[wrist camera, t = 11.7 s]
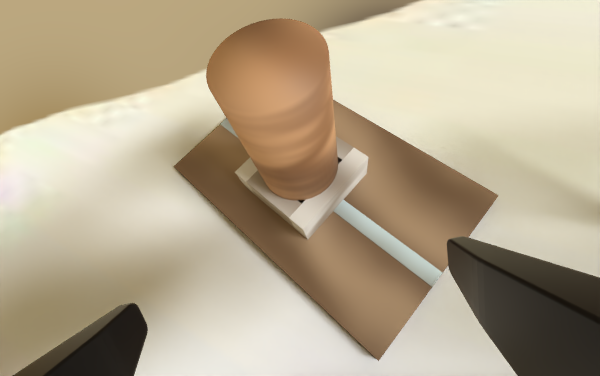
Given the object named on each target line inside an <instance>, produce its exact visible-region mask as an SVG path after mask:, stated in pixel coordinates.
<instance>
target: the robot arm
mask: <svg viewBox="0 0 600 376" xmlns="http://www.w3.org/2000/svg"><path fill="white" fill-rule="evenodd" d="M447 255H448V266H449V270H450V272H451V274H452V276H453V278H454V280H455V281H456V283H457V285H458V287H459V288H460V290H461V292H462V294H463V295H464V297H465V299H466V301H467V302H468V304H469V306H470V307H471V309H472V311H473V313H474V314H475V316H476V318H477V319H478V321H479V323H480V324H481V326H482V327H483V328H484V330H485V331H486V333H487V334H488V336H489V337H490V338H491V340H492V341H493V342H494V344H495V345H496V347H497V348H498V349H499V351H500V352H501V353H502V355H503V356H504V358H505V359H506V360H507V362H508V363H509V364H510V366H511V367H512V369H513V370H514V371H515V373H516V374H517V375H518V376H600V278H599V277H596V276H593V275H589V274H586V273H583V272H579V271H576V270H573V269H570V268H566V267H563V266H560V265H556V264H553V263H550V262H547V261H543V260H540V259H537V258H533V257H530V256H527V255H524V254H520V253H517V252H514V251H510V250H507V249H504V248H501V247H497V246H494V245H491V244H487V243H484V242H481V241H478V240H474V239H471V238H468V237H464V236H460V237H455V238H450V239H448V241H447ZM147 331H148V328H147V324H146V321H145V319H144V317H143V315H142V313H141V311H140V309H139V307H138V306H137V305H136V304H135V303H130V304H125V305H121V306H118V307H117V308H115V309H114V310H112V311H111V312H109V313H108V314H106V315H105V316H103V317H101V318H100V319H98V320H97V321H95V322H94V323H92V324H91V325H89V326H88V327H86V328H85V329H83V330H82V331H80V332H79V333H77V334H76V335H74V336H72V337H71V338H69V339H68V340H66V341H65V342H63V343H62V344H60V345H59V346H57V347H56V348H54V349H53V350H51V351H50V352H48V353H47V354H45V355H44V356H42V357H40V358H39V359H37V360H36V361H34V362H33V363H31V364H30V365H28V366H27V367H25V368H24V369H22V370H21V371H19V372H18V373H16V374H15V375H13V376H134V374H135V371H136V367H137V364H138V361H139V358H140V355H141V351H142V348H143V345H144V342H145V339H146V336H147Z"/></svg>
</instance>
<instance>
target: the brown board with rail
mask: <svg viewBox="0 0 600 376" xmlns="http://www.w3.org/2000/svg"><path fill="white" fill-rule="evenodd" d="M333 108H334V120H335V131H336V143H337V155H338V170H337V174H336V176H335V179H334V180H333V182H332V183H331V185H330V186H329V187H328V188H327V189H326V190H325V191H323V192H322V193H321V194H319V195H317V196H315V197H313V198H310V199H306V200H297V201H295V200H288V199H284V198H281V197H279V196H278V195H276V194H275V193H273V192H272V191H271V190H270V189H269V188H268V186H267V185H266V183H265V181H264V180H263V178H262V176H261V175H260V173H259V171H258V170H257V168H256V166H255V165H254V163H253V161H252V160H251V158H250V156H249V155H248V153H247V151H246V150H245V148H244V146H243V145H242V143H241V141H240V140H239V138H238V136H237V135H236V133H235V131H234V129H233V128H232V126H231V124H230V123H229V121H228V119H227V118H226V119H225V120H224V121H223V122H222V123H221V124H220V125H219V126H218V127H217V128H216V129H214V130H213V131H212V132H211V133H210V134H209V135H208V136H207V137H206V138H205V139H203V140H202V141H201V142H200V143H199V144H198V145H197V146H196V147H195V148H194V149H192V150H191V151H190V152H189V153H188V154H187V155H186V156H185V157H184V158H182V159H181V160H180V161H179V162H178V163H177V164H176V165H175V166H174V167H175V168H176V169H177V170H178V171H179V172H180V173H181V174H182V175H183V176H184V177H185V178H186V179H187V180H188V181H189V182H190V183H192V184H193V185H194V186H195V187H196V188H197V189H198V190H199V191H200V192H201V193H202V194H203V195H204V196H205V197H206V198H207V199H208V200H209V201H211V202H212V203H213V204H214V205H215V206H216V207H217V208H218V209H219V210H220V211H221V212H222V213H223V214H224V215H225V216H226V217H227V218H228V219H229V220H231V221H232V222H233V223H234V224H235V225H236V226H237V227H238V228H239V229H240V230H241V231H242V232H243V233H244V234H245V235H246V236H247V237H248V238H250V239H251V240H252V241H253V242H254V243H255V244H256V245H257V246H258V247H259V248H260V249H261V250H262V251H263V252H264V253H265V254H266V255H267V256H269V257H270V258H271V259H272V260H273V261H274V262H275V263H276V264H277V265H278V266H279V267H280V268H281V269H282V270H283V271H284V272H285V273H286V274H288V275H289V276H290V277H291V278H292V279H293V280H294V281H295V282H296V283H297V284H298V285H299V286H300V287H301V288H302V289H303V290H304V291H305V292H307V293H308V294H309V295H310V296H311V297H312V298H313V299H314V300H315V301H316V302H317V303H318V304H319V305H320V306H321V307H322V308H323V309H324V310H325V311H327V312H328V313H329V314H330V315H331V316H332V317H333V318H334V319H335V320H336V321H337V322H338V323H339V324H340V325H341V326H342V327H343V328H344V329H346V330H347V331H348V332H349V333H350V334H351V335H352V336H353V337H354V338H355V339H356V340H357V341H358V342H359V343H360V344H361V345H362V346H363V347H365V348H366V349H367V350H368V351H369V352H370V353H371V354H372V355H373V356H374V357H375V358H376V359H377V360H378V361H379V360H380V358H381V357H382V355H383V354H384V353H385V351H386V350H387V348H388V347H389V346H390V344H391V343H392V342H393V340H394V339H395V337H396V336H397V335H398V333H399V332H400V331H401V329H402V328H403V326H404V325H405V324H406V322H407V321H408V320H409V318H410V317H411V315H412V314H413V313H414V311H415V310H416V309H417V307H418V306H419V304H420V303H421V302H422V300H423V299H424V298H425V296H426V295H427V293H428V292H429V291H430V289H431V288H432V287H433V285H434V284H435V282H436V281H437V280H438V278H439V277H440V276H441V274H442V273H443V271H444V270H445V269H446V267H447V266H448V255H447V241H448V239H450V238H455V237H460V236H464V237H469V236H470V234H471V233H472V231H473V230H474V229H475V227H476V226H477V225H478V223H479V222H480V220H481V219H482V218H483V216H484V215H485V214H486V212H487V211H488V209H489V208H490V207H491V205H492V204H493V202H494V201H495V200H496V198H497V197H498V196H499V195H497V194H495V193H493V192H492V191H490V190H488V189H486V188H485V187H483V186H481V185H480V184H478V183H476V182H474V181H473V180H471V179H469V178H467V177H466V176H464V175H462V174H461V173H459V172H457V171H455V170H454V169H452V168H450V167H448V166H447V165H445V164H443V163H442V162H440V161H438V160H436V159H435V158H433V157H431V156H429V155H428V154H426V153H424V152H423V151H421V150H419V149H417V148H416V147H414V146H412V145H411V144H409V143H407V142H405V141H404V140H402V139H400V138H398V137H397V136H395V135H393V134H392V133H390V132H388V131H386V130H385V129H383V128H381V127H379V126H378V125H376V124H374V123H373V122H371V121H369V120H367V119H366V118H364V117H362V116H360V115H359V114H357V113H355V112H354V111H352V110H350V109H348V108H347V107H345V106H343V105H341V104H340V103H338V102H336V101H335V100H333Z"/></svg>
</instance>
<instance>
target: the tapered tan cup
mask: <svg viewBox="0 0 600 376" xmlns="http://www.w3.org/2000/svg"><path fill="white" fill-rule="evenodd" d="M206 78H207V84H208V87H209V89H210V91H211V93H212V94H213V96H214V98H215V99H216V101H217V103H218V104H219V106H220V108H221V109H222V111H223V113H224V114H225V116H226V118H227V119H228V121H229V123H230V124H231V126H232V128H233V129H234V131H235V133H236V135H237V136H238V138H239V140H240V141H241V143H242V145H243V146H244V148H245V150H246V151H247V153H248V155H249V156H250V158H251V160H252V161H253V163H254V165H255V166H256V168H257V170H258V171H259V173H260V175H261V176H262V178H263V180H264V181H265V183H266V185H267V186H268V188H269V189H270V190H271V191H272V192H273V193H275V194H276V195H278V196H279V197H281V198H284V199H288V200H295V201H297V200H306V199H310V198H313V197H315V196H317V195H319V194H321V193H322V192H323V191H325V190H326V189H327V188H328V187H329V186H330V185H331V183H332V182H333V180H334V179H335V176H336V174H337V170H338V155H337V143H336V131H335V120H334V108H333V96H332V85H331V73H330V61H329V50H328V46H327V43H326V41H325V39H324V38H323V36H322V35H321V34H320V33H319V32H318V31H317V30H316V29H315V28H313V27H312V26H310V25H308V24H306V23H303V22H301V21H297V20H292V19H270V20H264V21H259V22H256V23H253V24H250V25H248V26H245V27H243V28H241V29H239V30H238V31H236V32H234V33H233V34H231V35H230V36H229V37H227V38H226V39H225V40H224V41H223V42H222V43H221V44H220V45H219V46H218V47H217V49H216V50H215V51H214V53H213V55H212V56H211V58H210V60H209V63H208V67H207V73H206Z"/></svg>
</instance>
